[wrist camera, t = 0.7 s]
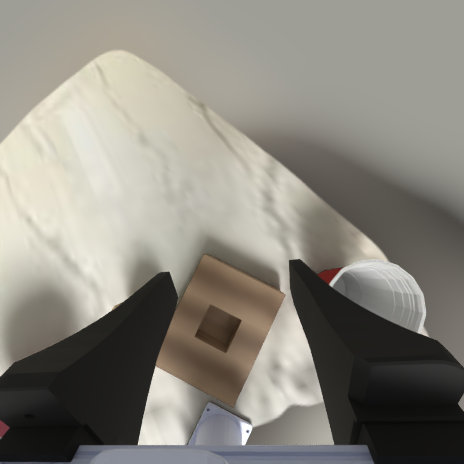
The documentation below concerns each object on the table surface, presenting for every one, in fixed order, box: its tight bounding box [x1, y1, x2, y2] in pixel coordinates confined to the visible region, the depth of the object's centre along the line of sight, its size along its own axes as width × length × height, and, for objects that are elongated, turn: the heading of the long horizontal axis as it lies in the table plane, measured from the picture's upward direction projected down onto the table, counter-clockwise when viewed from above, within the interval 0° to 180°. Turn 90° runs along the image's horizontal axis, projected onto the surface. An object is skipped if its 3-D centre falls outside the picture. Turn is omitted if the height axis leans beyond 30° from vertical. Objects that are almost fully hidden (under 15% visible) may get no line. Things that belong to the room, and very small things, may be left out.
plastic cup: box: [318, 259, 426, 334], centre depth 29 cm, size 11×11×12 cm
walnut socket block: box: [156, 254, 285, 407], centre depth 33 cm, size 18×14×4 cm
